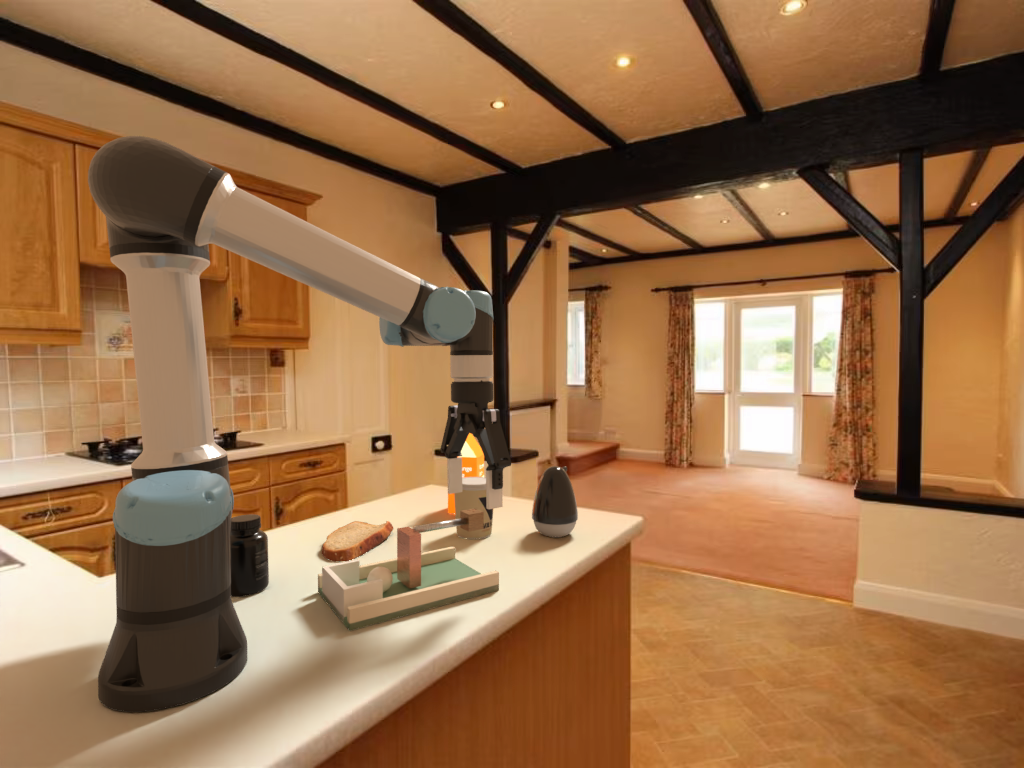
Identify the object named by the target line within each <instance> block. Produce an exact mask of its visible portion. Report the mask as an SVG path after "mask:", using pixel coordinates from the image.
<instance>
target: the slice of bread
mask: <svg viewBox="0 0 1024 768" xmlns="http://www.w3.org/2000/svg"><path fill="white" fill-rule="evenodd" d="M393 530H394V526H393V524H392V523H391V522H390V521H389V520H386V521H385V523H381V524H379V525H378V524H371V523H367V522H365V521H359V520H354V521H352V522H350V523H347V524H346V525H343V526H341V527H338V528H337V529H334V531H332V532H330V533H329V534H328V535H326V540H325V541H324V543H323V544H322V549H321V556H322V557H323V558H324V559H326V560H328V559H329V560H328V561H331V560H332V562H336V561H345V562H348V561H349V560H351V561H353V560H352V559H354V560H356V559H358V558H360V557H361V555H362V556H364V555H365V554H367V553H369V552H370V551H372V550H373V549H374V548H376V547H378V546H379V545H380V544H382V543H383V542H384V541H385V540H387V539H388V537H389V536H390V534H391V533H393ZM371 549H372V550H371ZM366 552H367V553H366ZM363 554H364V555H363ZM359 556H360V557H359ZM357 557H358V558H357Z"/></svg>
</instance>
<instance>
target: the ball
mask: <svg viewBox="0 0 1024 768" xmlns="http://www.w3.org/2000/svg"><path fill="white" fill-rule="evenodd" d="M379 579H381V580H382V581H383V592H385V591H387V590H388V589H389V588H390V586H391V585H392V581H393V577H392V573H391V572H390V570H389V569H387V568H385V567H376V568H374V569H373V570H372V571H371V572H370V573H369V575H368V577H367V582H370V581H374V580H379Z"/></svg>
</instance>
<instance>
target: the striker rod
mask: <svg viewBox="0 0 1024 768" xmlns="http://www.w3.org/2000/svg"><path fill="white" fill-rule="evenodd" d="M456 526H460V528H462V529H464V530H466V531H468V532H470V531H475V530H481V529H484V512H482V511H480V510H477V509H469V510H463V511H460V519H456V518H454V519H449V520H444V521H437V522H433V523H427V524H422V525H421V524H420V525H415V526H413V527H412V528H411V527H410V526H402V527H397V528H396V530H397V531H396V534H397V535H396V542H397V543H396V545H397V546H396V548H397V549H396V554H397V555H396V556H397V557H396V558H397V579H398V580H399V581H401V582H402V583H403V584H404V585H406V586H407V587H408V588H409V589H410V588H414V587H419V586H421V553H422V533H427V532H431V531H432V532H433V531H438V530H443V529H449V528H454V527H455V528H456Z"/></svg>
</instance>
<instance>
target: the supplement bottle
mask: <svg viewBox="0 0 1024 768" xmlns="http://www.w3.org/2000/svg"><path fill="white" fill-rule="evenodd" d="M261 519H262V518H261V515H259V514H252V513H251V514H241V515H237V516H233V517H232V518H231V597H232V598H233V597H235V598H237V597H240V598H242V597H248V596H252V595H255V594H258V593H261V592H262V591H264V590H266V589H267V587H268V586H269V583H270V581H269V580H270V577H269V576H270V574H269V573H270V572H269V570H270V569H269V541H268V540H269V539H268V535H267V534H266V532H265V531H263V530H261V528H262V523H261V522H262V521H261Z"/></svg>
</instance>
